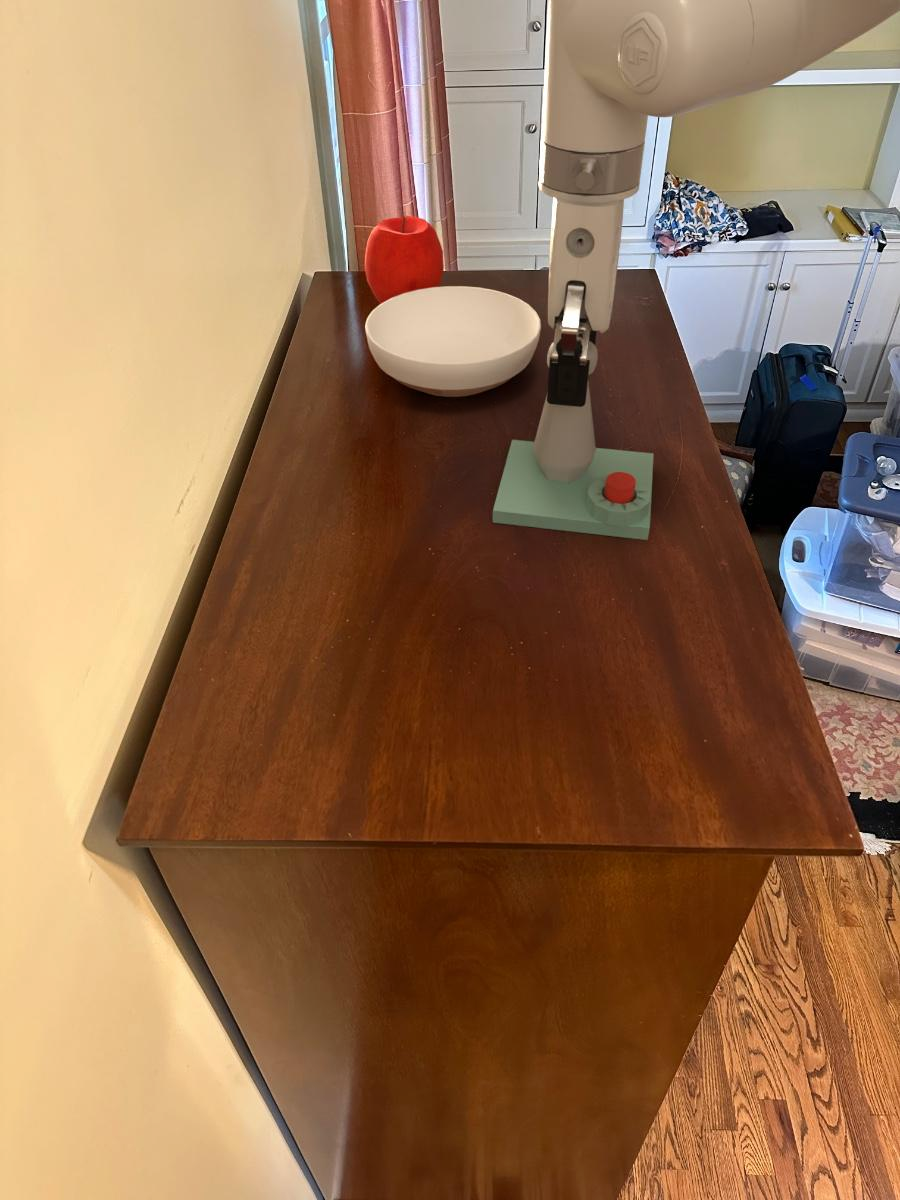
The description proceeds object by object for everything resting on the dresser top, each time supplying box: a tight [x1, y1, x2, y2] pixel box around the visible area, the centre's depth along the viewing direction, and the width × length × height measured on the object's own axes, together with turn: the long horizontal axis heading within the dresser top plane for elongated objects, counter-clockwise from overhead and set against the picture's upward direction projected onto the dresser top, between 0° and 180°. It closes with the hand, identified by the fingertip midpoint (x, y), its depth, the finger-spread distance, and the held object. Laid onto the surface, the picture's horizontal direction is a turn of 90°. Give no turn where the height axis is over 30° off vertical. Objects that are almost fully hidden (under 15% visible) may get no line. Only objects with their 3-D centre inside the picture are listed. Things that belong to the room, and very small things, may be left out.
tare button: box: [604, 472, 636, 504], centre depth 76 cm, size 3×3×2 cm
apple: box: [364, 215, 445, 305], centre depth 107 cm, size 10×10×12 cm
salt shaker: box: [533, 337, 599, 483], centre depth 78 cm, size 6×6×13 cm
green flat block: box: [492, 439, 654, 541], centre depth 81 cm, size 14×12×3 cm
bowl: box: [364, 285, 542, 398], centre depth 97 cm, size 20×20×6 cm
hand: (571, 375), depth 76 cm, fingers open, 9 cm apart
